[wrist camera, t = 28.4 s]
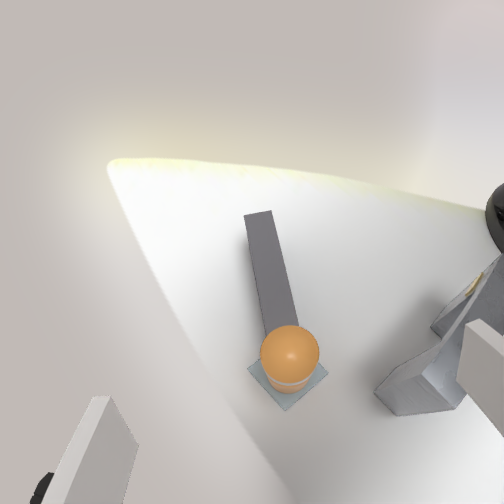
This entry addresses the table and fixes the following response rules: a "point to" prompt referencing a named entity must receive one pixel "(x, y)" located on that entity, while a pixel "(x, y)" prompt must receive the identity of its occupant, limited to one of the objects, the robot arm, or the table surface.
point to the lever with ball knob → (278, 311)
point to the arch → (446, 350)
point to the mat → (283, 398)
